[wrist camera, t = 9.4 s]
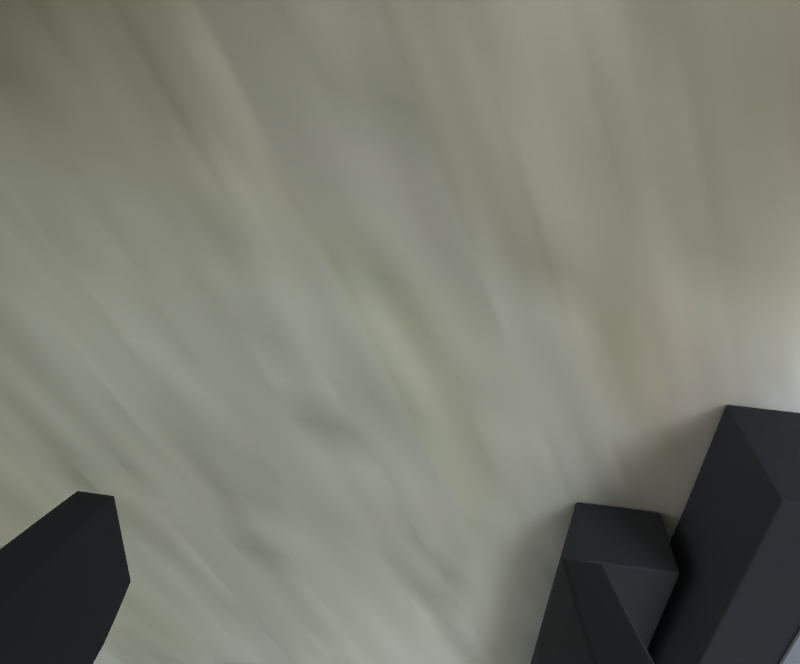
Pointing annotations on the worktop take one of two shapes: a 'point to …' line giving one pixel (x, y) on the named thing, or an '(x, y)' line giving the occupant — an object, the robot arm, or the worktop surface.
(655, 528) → the notch pad
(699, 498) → the pad
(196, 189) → the worktop surface
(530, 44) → the worktop surface
